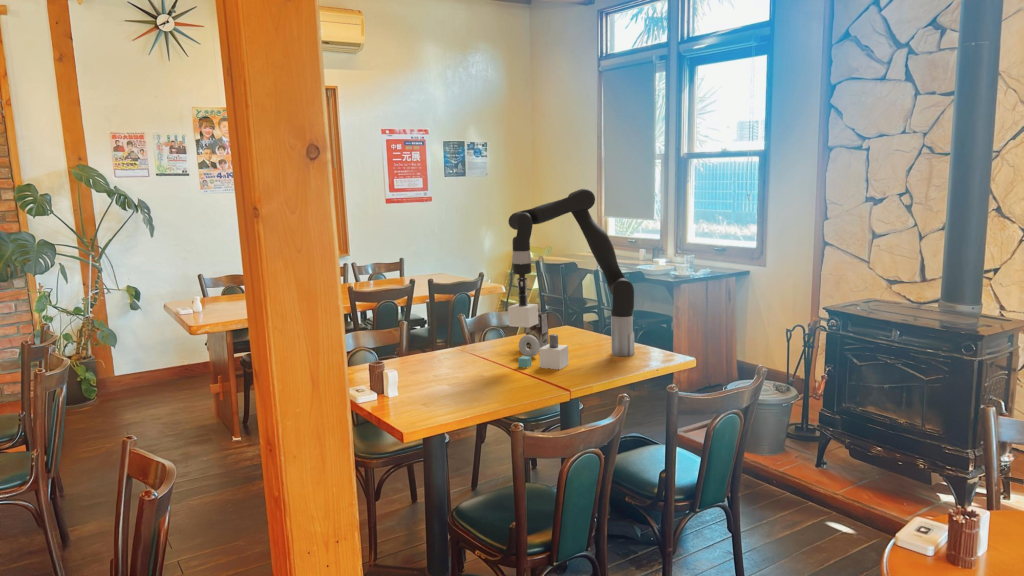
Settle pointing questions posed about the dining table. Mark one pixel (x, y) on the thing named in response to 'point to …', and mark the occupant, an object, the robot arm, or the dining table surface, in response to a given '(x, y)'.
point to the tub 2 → (553, 354)
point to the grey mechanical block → (539, 330)
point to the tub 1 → (523, 314)
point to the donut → (534, 343)
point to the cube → (524, 361)
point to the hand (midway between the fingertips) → (523, 303)
